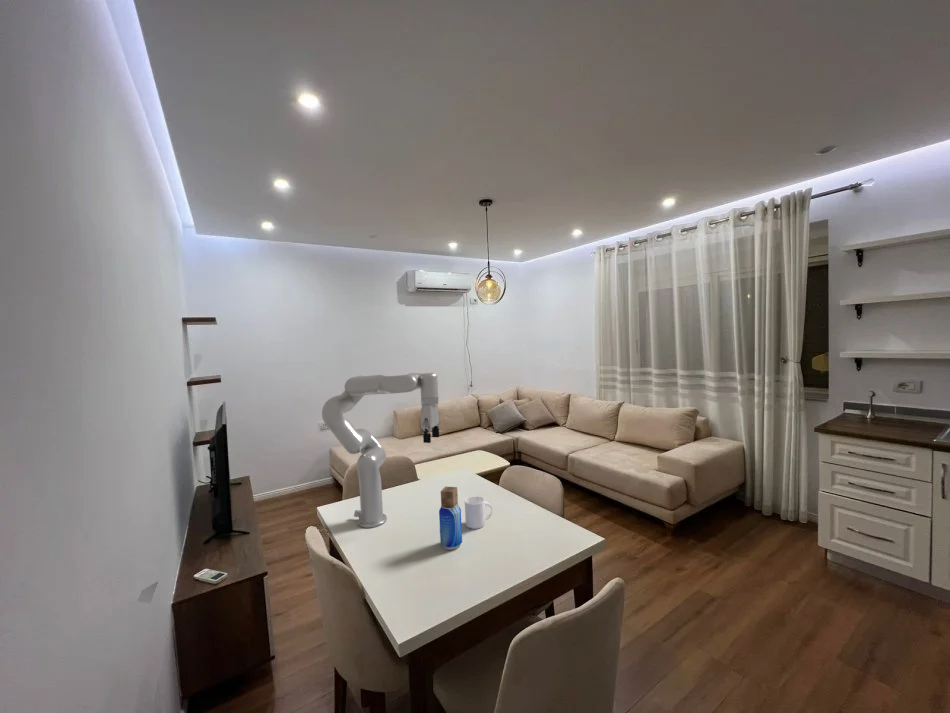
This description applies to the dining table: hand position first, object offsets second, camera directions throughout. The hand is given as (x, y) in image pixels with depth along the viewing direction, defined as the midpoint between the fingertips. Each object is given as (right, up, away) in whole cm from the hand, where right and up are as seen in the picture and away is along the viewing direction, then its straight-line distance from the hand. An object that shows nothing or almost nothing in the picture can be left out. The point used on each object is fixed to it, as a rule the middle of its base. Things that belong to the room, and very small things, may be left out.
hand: (431, 439), depth 170 cm
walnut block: (+9, -21, -20) cm, 31 cm away
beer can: (+10, -37, -20) cm, 43 cm away
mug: (+21, -36, -3) cm, 42 cm away
